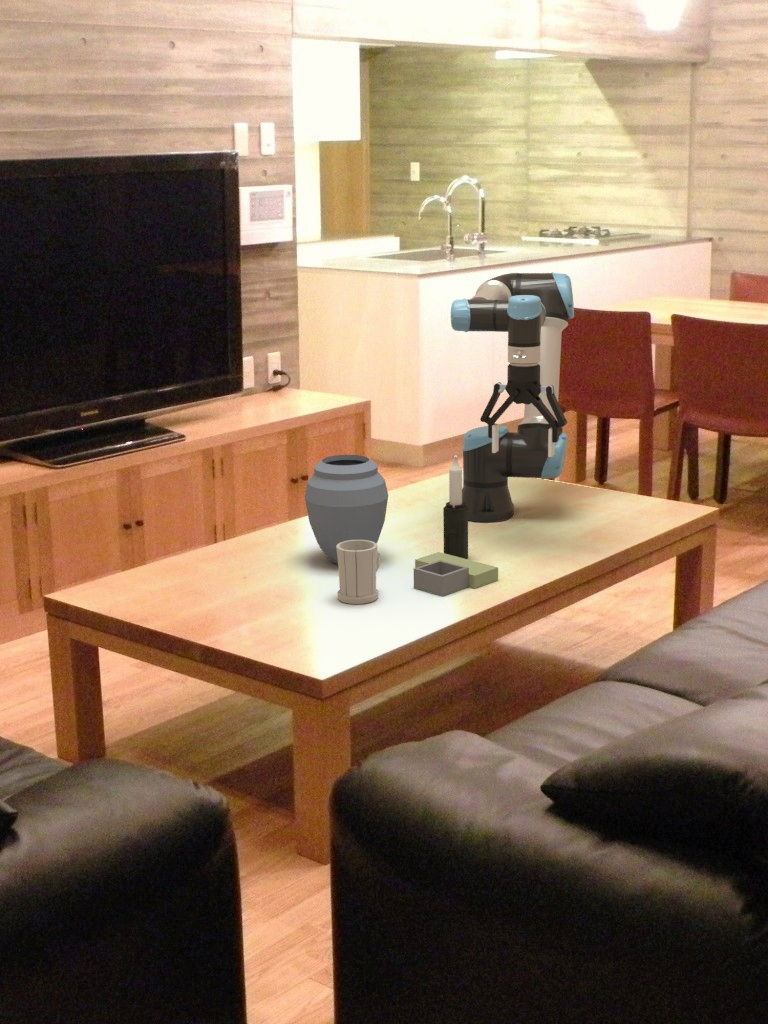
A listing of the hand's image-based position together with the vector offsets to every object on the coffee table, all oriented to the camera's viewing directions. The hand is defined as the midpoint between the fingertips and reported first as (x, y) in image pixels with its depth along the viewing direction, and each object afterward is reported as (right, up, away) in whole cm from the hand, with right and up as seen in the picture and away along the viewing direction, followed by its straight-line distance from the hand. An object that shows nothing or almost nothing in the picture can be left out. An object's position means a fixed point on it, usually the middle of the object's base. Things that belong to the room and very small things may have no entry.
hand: (523, 453), depth 323 cm
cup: (-38, -32, -23) cm, 55 cm away
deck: (-19, -29, -13) cm, 37 cm away
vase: (-41, -25, +3) cm, 48 cm away
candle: (-16, -25, +3) cm, 29 cm away
